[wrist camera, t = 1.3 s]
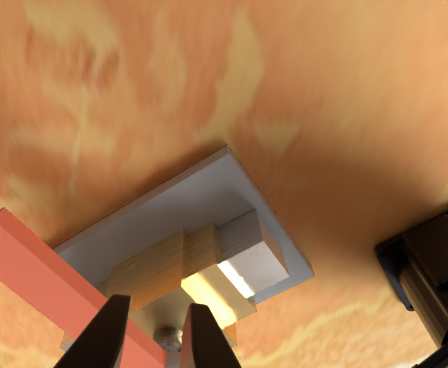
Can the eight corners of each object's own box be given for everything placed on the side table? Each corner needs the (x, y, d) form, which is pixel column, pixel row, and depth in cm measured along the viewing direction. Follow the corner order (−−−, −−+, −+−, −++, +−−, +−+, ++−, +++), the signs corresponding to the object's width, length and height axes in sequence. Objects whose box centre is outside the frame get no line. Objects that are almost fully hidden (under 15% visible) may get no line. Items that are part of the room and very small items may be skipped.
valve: (287, 248, 25) (314, 337, 19) (115, 335, 28) (95, 435, 22) (244, 188, 22) (261, 270, 17) (62, 290, 25) (24, 389, 20)
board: (310, 264, 26) (314, 275, 25) (134, 351, 29) (132, 364, 29) (227, 144, 22) (228, 153, 21) (28, 263, 25) (22, 274, 24)
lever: (211, 375, 20) (212, 396, 19) (159, 399, 20) (158, 419, 19) (18, 197, 14) (6, 213, 13) (-45, 237, 15) (-59, 255, 14)
